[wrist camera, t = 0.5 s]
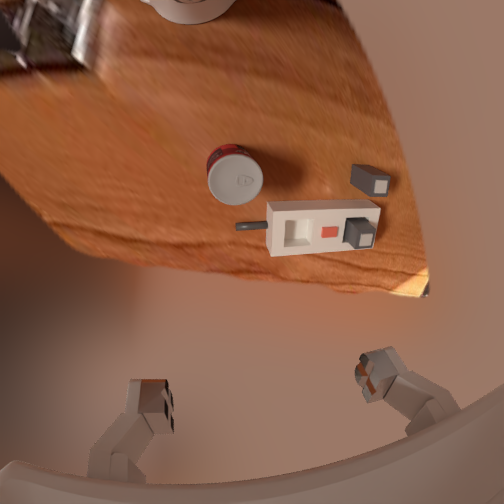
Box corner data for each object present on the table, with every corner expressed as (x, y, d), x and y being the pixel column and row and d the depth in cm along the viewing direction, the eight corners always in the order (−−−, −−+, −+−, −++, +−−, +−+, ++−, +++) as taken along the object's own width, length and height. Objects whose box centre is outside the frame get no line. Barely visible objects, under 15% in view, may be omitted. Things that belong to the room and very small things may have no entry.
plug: (352, 164, 54) (373, 175, 47) (369, 165, 55) (391, 176, 48) (350, 183, 56) (370, 197, 49) (366, 183, 57) (388, 197, 50)
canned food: (255, 178, 53) (268, 198, 44) (212, 189, 53) (215, 212, 43) (246, 138, 49) (258, 148, 40) (201, 149, 49) (201, 162, 39)
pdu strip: (235, 203, 55) (242, 224, 47) (368, 199, 59) (392, 217, 51) (236, 246, 59) (242, 272, 51) (362, 237, 63) (383, 258, 55)
